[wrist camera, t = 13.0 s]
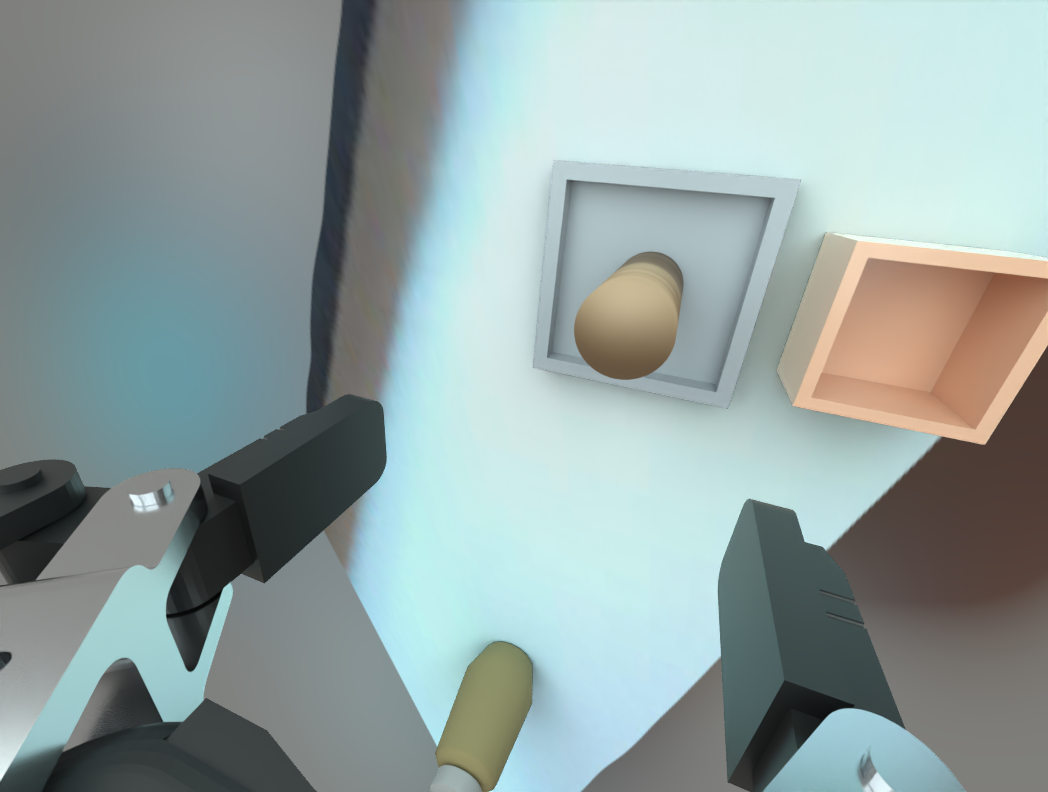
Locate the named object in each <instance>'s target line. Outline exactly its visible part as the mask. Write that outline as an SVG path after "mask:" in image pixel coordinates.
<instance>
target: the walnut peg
mask: <svg viewBox="0 0 1048 792" xmlns="http://www.w3.org/2000/svg"><path fill="white" fill-rule="evenodd" d="M683 285H684V281H683V275H682V272H681V270H680V268H679V266H678V265H677V263H676V262H675V261H674V260H673V259H672V258H670V257H669V256H667V255H665V254H663V253H659V252H652V251H650V252H643V253H639V254H637V255H635V256H633V257H631V258H630V259H628V260H627V261H626V262H625V263H624V264H623V265H622V266H621V267H620V268H619V269H617V270H616V271H615V272H614V273H613V274H612V275H611V276H610V277H609V278H608V279H607V280H605V281H604V282H603V283H602V284H601V285H600V286H599V287H598V288H597V289H596V290H595V291H593V292H592V293H591V294H590V295H589V296H588V297H587V298H586V299H585V300H584V302H583V303H582V305H581V306H580V308H579V310H578V312H577V315H576V319H575V323H574V337H575V342H576V345H577V348H578V350H579V353H580V354H581V356H582V358H583V359H584V360H585V361H586V363H587V364H588V365H589V366H590V367H591V368H593V369H594V370H595V371H597V372H599V373H600V374H602V375H605V376H607V377H610V378H614V379H620V380H631V379H637V378H641V377H644V376H647V375H649V374H651V373H652V372H654V371H655V370H657V369H658V368H659V367H660V366H662V365H663V363H664V362H665V361H666V360H667V359H668V357H669V356H670V354H671V352H672V350H673V347H674V344H675V340H676V335H677V328H678V321H679V314H680V307H681V300H682V293H683Z"/></svg>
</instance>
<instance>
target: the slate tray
mask: <svg viewBox="0 0 1048 792" xmlns="http://www.w3.org/2000/svg"><path fill="white" fill-rule="evenodd" d="M800 183H801V179H790V178H777V177H764V176H751V175H738V174H725V173H712V172H699V171H686V170H673V169H660V168H647V167H634V166H621V165H608V164H595V163H582V162H569V161H556V160H553V168H552V178H551V188H550V198H549V208H548V218H547V229H546V239H545V249H544V259H543V269H542V279H541V290H540V300H539V310H538V320H537V330H536V340H535V350H534V361H533V368H537V369H542V370H546V371H551V372H556V373H561V374H565V375H570V376H575V377H580V378H584V379H589V380H594V381H599V382H603V383H608V384H613V385H617V386H622V387H627V388H632V389H636V390H641V391H646V392H651V393H655V394H660V395H665V396H670V397H674V398H679V399H684V400H689V401H693V402H698V403H703V404H707V405H712V406H717V407H722V408H726V409H728V407H729V404H730V401H731V398H732V395H733V392H734V389H735V385H736V382H737V379H738V376H739V373H740V370H741V367H742V364H743V360H744V357H745V354H746V351H747V348H748V345H749V342H750V339H751V336H752V332H753V329H754V326H755V323H756V320H757V317H758V314H759V311H760V307H761V304H762V301H763V298H764V295H765V292H766V289H767V286H768V282H769V279H770V276H771V273H772V270H773V267H774V264H775V261H776V257H777V254H778V251H779V248H780V245H781V242H782V239H783V236H784V233H785V229H786V226H787V223H788V220H789V217H790V214H791V211H792V208H793V204H794V201H795V198H796V195H797V192H798V189H799V186H800ZM650 251H652V252H659V253H663V254H665V255H667V256H669V257H670V258H672V259H673V260H674V261H675V262H676V263H677V265H678V266H679V268H680V270H681V272H682V275H683V281H684V285H683V293H682V300H681V307H680V314H679V321H678V328H677V335H676V340H675V344H674V347H673V350H672V352H671V354H670V356H669V357H668V359H667V360H666V361H665V362H664V363H663V365H662V366H660V367H659V368H658V369H657V370H655V371H654V372H652V373H651V374H649V375H647V376H644V377H641V378H637V379H631V380H620V379H614V378H610V377H607V376H605V375H602V374H600V373H599V372H597V371H595V370H594V369H593V368H591V367H590V366H589V365H588V364H587V363H586V361H585V360H584V359H583V358H582V356H581V354H580V353H579V350H578V348H577V345H576V342H575V337H574V323H575V319H576V315H577V312H578V310H579V308H580V306H581V305H582V303H583V302H584V300H585V299H586V298H587V297H588V296H589V295H590V294H591V293H592V292H593V291H595V290H596V289H597V288H598V287H599V286H600V285H601V284H602V283H603V282H604V281H605V280H607V279H608V278H609V277H610V276H611V275H612V274H613V273H614V272H615V271H616V270H617V269H619V268H620V267H621V266H622V265H623V264H624V263H625V262H626V261H627V260H628V259H630V258H631V257H633V256H635V255H637V254H639V253H643V252H650Z"/></svg>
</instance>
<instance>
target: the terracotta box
mask: <svg viewBox="0 0 1048 792" xmlns="http://www.w3.org/2000/svg"><path fill="white" fill-rule="evenodd" d="M1047 346H1048V258H1046V257H1041V256H1035V255H1029V254H1023V253H1017V252H1012V251H1002V250H993V249H983V248H974V247H964V246H955V245H945V244H935V243H926V242H916V241H907V240H897V239H888V238H878V237H868V236H859V235H849V234H840V233H830V232H826V233H825V236H824V239H823V242H822V244H821V247H820V250H819V253H818V255H817V258H816V261H815V264H814V267H813V269H812V272H811V275H810V278H809V281H808V283H807V286H806V289H805V292H804V294H803V297H802V300H801V303H800V306H799V308H798V311H797V314H796V317H795V320H794V322H793V325H792V328H791V331H790V334H789V336H788V339H787V342H786V345H785V347H784V350H783V353H782V356H781V359H780V361H779V364H778V367H777V370H776V371H777V373H778V375H779V377H780V379H781V382H782V384H783V386H784V388H785V390H786V392H787V395H788V397H789V399H790V401H791V403H792V405H793V406H795V407H800V408H805V409H810V410H815V411H820V412H825V413H830V414H835V415H840V416H845V417H850V418H855V419H859V420H864V421H869V422H874V423H879V424H884V425H889V426H894V427H899V428H904V429H909V430H914V431H919V432H924V433H929V434H934V435H939V436H944V437H948V438H953V439H958V440H964V441H968V442H973V443H979V444H983V445H985V444H986V442H987V441H988V439H989V437H990V436H991V434H992V433H993V431H994V429H995V428H996V426H997V424H998V423H999V422H1000V420H1001V418H1002V417H1003V415H1004V414H1005V412H1006V410H1007V409H1008V407H1009V406H1010V404H1011V403H1012V401H1013V399H1014V398H1015V396H1016V395H1017V393H1018V391H1019V390H1020V388H1021V387H1022V385H1023V384H1024V382H1025V380H1026V379H1027V377H1028V376H1029V374H1030V372H1031V371H1032V369H1033V368H1034V366H1035V365H1036V363H1037V361H1038V360H1039V358H1040V357H1041V355H1042V353H1043V352H1044V350H1045V349H1046V347H1047Z"/></svg>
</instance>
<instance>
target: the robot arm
mask: <svg viewBox="0 0 1048 792" xmlns="http://www.w3.org/2000/svg"><path fill="white" fill-rule="evenodd" d="M386 459H387V456H386V441H385V426H384V412H383V408H382V405H381V404H380V403H379V402H377V401H374V400H370V399H366V398H362V397H358V396H355V395H351V394H348V395H344V396H342V397H340V398H339V399H337V400H335V401H334V402H332V403H330V404H328V405H327V406H325V407H323V408H321V409H320V410H318V411H315V412H311V413H308V414H305V415H302V416H299V417H297V418H296V419H294V420H292V421H290V422H289V423H287V424H285V425H283V426H281V427H280V430H277V429H276V430H274V431H272V432H271V433H269V434H267V435H265V436H264V438H263V439H258V440H256V441H254V442H253V443H251V444H249V445H247V446H246V447H244V448H242V449H240V450H238V451H237V452H235V453H233V454H231V455H229V456H228V457H226V458H224V459H222V460H221V461H219V462H217V463H215V464H213V465H212V466H210V467H208V468H206V469H204V470H203V471H201V472H199V473H195V472H193V471H191V470H187V469H180V468H171V469H162V470H155V471H151V472H147V473H143V474H140V475H137V476H134V477H132V478H130V479H127V480H125V481H123V482H121V483H119V484H117V485H116V486H114V487H113V488H100V487H84V485H83V483H82V481H81V478H80V476H79V474H78V472H77V469H76V467H75V465H74V464H72V463H71V462H68V461H64V460H40V461H34V462H28V463H23V464H19V465H16V466H12V467H9V468H5V469H2V470H0V571H1V573H2V575H3V577H4V578H5V580H6V582H7V583H8V585H1V586H0V792H316V790H315V789H313V787H312V786H311V785H310V784H309V782H308V781H307V780H306V779H305V777H304V776H303V775H302V774H301V772H300V771H299V770H298V769H297V767H296V766H295V765H294V764H293V763H292V761H291V760H290V759H289V757H288V756H287V755H286V754H285V752H284V751H283V750H282V749H281V747H280V746H279V745H278V744H277V742H276V741H275V740H274V739H273V737H272V736H271V735H270V734H269V732H268V731H267V730H265V729H263V728H261V727H259V726H257V725H255V724H254V723H252V722H250V721H248V720H246V719H244V718H242V717H241V716H239V715H237V714H235V713H233V712H231V711H229V710H228V709H226V708H224V707H222V706H220V705H218V704H216V703H214V702H213V701H211V700H209V699H207V698H206V699H205V700H204V701H203V695H204V687H205V683H206V680H207V676H208V673H209V670H210V667H211V663H212V660H213V657H214V654H215V650H216V647H217V644H218V641H219V638H220V634H221V631H222V627H223V625H224V621H225V618H226V615H227V611H228V608H229V605H230V602H231V598H232V595H233V587H232V584H231V581H233V580H234V579H235V578H236V577H237V576H239V575H240V574H244V575H246V576H248V577H251V578H253V579H255V580H258V581H260V582H263V583H265V582H266V581H268V579H270V578H271V577H272V576H273V575H274V574H275V573H276V572H277V571H279V570H280V569H281V568H282V567H283V566H284V565H285V564H286V563H288V562H289V561H290V560H291V559H292V558H293V557H294V556H295V555H296V554H297V553H299V552H300V551H301V550H302V549H303V548H304V547H305V546H306V545H307V544H309V543H310V542H311V541H312V540H313V539H314V538H315V537H316V536H318V535H319V534H320V533H321V532H322V531H323V530H324V529H325V528H326V527H328V526H329V525H330V524H331V523H332V522H333V521H334V520H335V519H336V518H338V517H339V516H340V515H341V514H342V513H343V512H344V511H345V510H346V509H348V508H349V507H350V506H351V505H352V504H353V503H354V502H355V501H356V500H357V499H359V498H360V497H361V496H362V495H363V494H364V493H365V492H366V491H367V490H369V489H370V488H371V487H372V486H373V485H374V484H375V483H376V482H377V481H378V480H379V479H380V477H381V475H382V473H383V471H384V469H385V465H386ZM854 602H855V598H854V596H853V593H852V591H851V588H850V586H849V583H848V580H847V578H846V575H845V573H844V572H843V571H842V569H841V568H840V567H839V566H838V565H837V563H835V561H834V560H833V559H832V558H831V556H829V554H828V553H827V552H826V551H825V549H824V548H823V547H820V546H817V545H813V544H810V543H806V542H805V541H804V538H803V535H802V532H801V529H800V525H799V522H798V519H797V516H796V513H795V512H794V511H793V510H790V509H787V508H783V507H779V506H775V505H771V504H767V503H763V502H760V501H756V500H752V499H748V500H747V501H746V502H745V504H744V506H743V508H742V510H741V513H740V516H739V518H738V521H737V523H736V526H735V529H734V531H733V534H732V537H731V539H730V542H729V544H728V547H727V550H726V552H725V555H724V558H723V561H722V564H721V568H720V573H719V580H718V605H719V624H720V644H721V660H722V661H721V663H722V682H723V700H724V720H725V740H726V759H727V777H728V782H729V783H731V784H733V785H736V786H738V787H740V788H743V789H745V790H747V791H750V792H966V791H965V790H964V788H963V787H962V786H961V784H960V783H959V781H958V780H957V779H956V777H955V776H954V775H953V773H952V772H951V771H950V770H949V769H948V767H947V766H946V765H945V764H944V763H943V762H942V761H941V760H940V759H939V758H938V757H937V756H936V755H935V754H934V753H933V752H932V751H931V750H930V749H929V748H928V747H927V746H926V745H924V744H923V743H922V742H921V741H920V740H918V739H917V738H916V737H914V736H913V735H912V734H911V733H909V732H908V731H906V729H905V727H904V724H903V722H902V719H901V717H900V714H899V711H898V709H897V706H896V704H895V701H894V699H893V696H892V693H891V691H890V688H889V686H888V683H887V681H886V678H885V676H884V673H883V671H882V668H881V665H880V663H879V660H878V657H877V655H876V652H875V650H874V647H873V645H872V642H871V640H870V637H869V635H868V632H867V629H864V628H863V625H864V622H863V619H862V616H861V614H860V611H859V609H858V606H857V605H855V604H854Z"/></svg>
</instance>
